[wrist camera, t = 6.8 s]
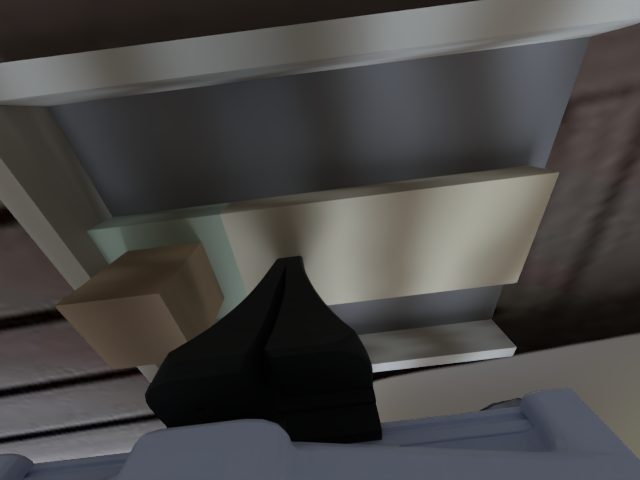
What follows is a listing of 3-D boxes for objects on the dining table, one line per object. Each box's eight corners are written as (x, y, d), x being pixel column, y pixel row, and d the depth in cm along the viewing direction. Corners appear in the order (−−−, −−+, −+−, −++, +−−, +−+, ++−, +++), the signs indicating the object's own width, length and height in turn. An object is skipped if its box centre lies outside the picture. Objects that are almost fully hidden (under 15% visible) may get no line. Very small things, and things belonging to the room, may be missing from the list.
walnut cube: (160, 306, 14) (112, 369, 11) (127, 251, 12) (54, 306, 9) (224, 298, 14) (197, 359, 11) (201, 242, 12) (158, 293, 9)
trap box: (187, 359, 20) (165, 402, 17) (14, 84, 10) (-105, 72, 7) (485, 323, 20) (516, 360, 17) (591, 9, 10) (710, -34, 7)
